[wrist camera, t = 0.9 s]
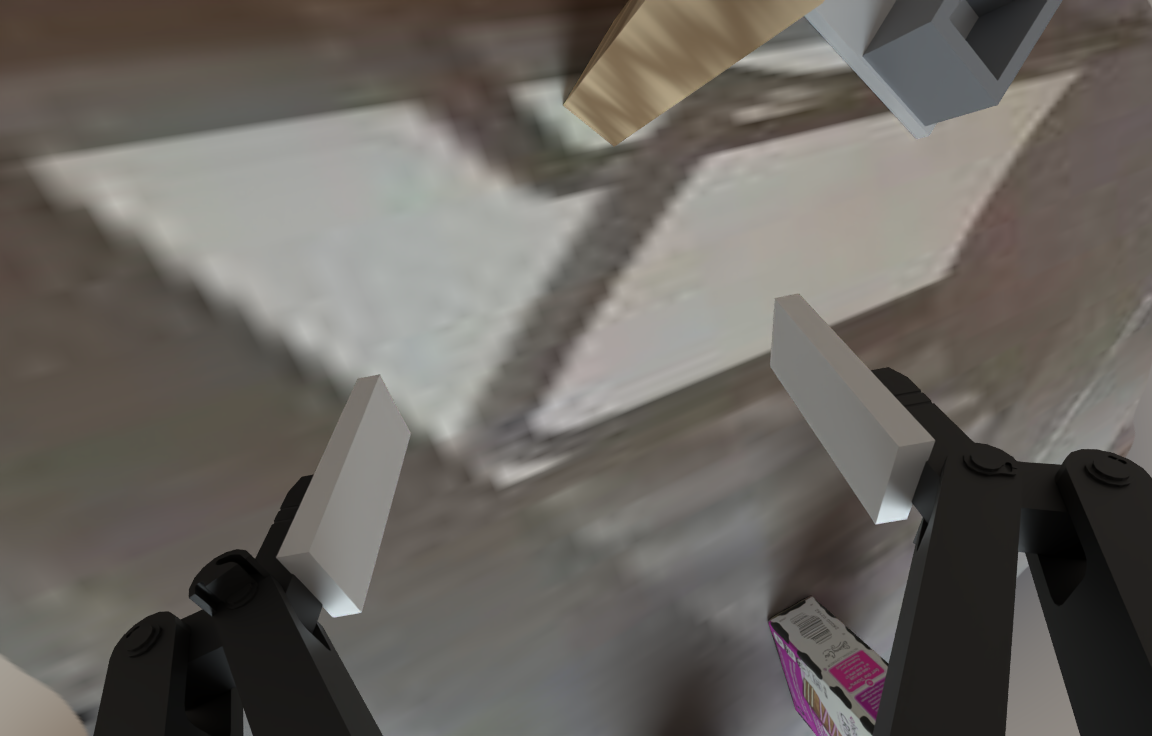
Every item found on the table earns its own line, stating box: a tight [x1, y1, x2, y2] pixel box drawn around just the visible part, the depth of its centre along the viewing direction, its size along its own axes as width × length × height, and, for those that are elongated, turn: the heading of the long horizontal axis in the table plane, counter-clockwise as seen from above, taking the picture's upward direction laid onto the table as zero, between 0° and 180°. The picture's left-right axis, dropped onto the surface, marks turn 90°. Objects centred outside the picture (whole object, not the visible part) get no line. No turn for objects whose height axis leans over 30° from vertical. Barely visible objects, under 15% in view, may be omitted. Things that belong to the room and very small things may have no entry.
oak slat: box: [563, 0, 825, 146], centre depth 23 cm, size 4×6×18 cm, turn 147°
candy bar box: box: [768, 596, 888, 736], centre depth 37 cm, size 11×5×16 cm, turn 20°
